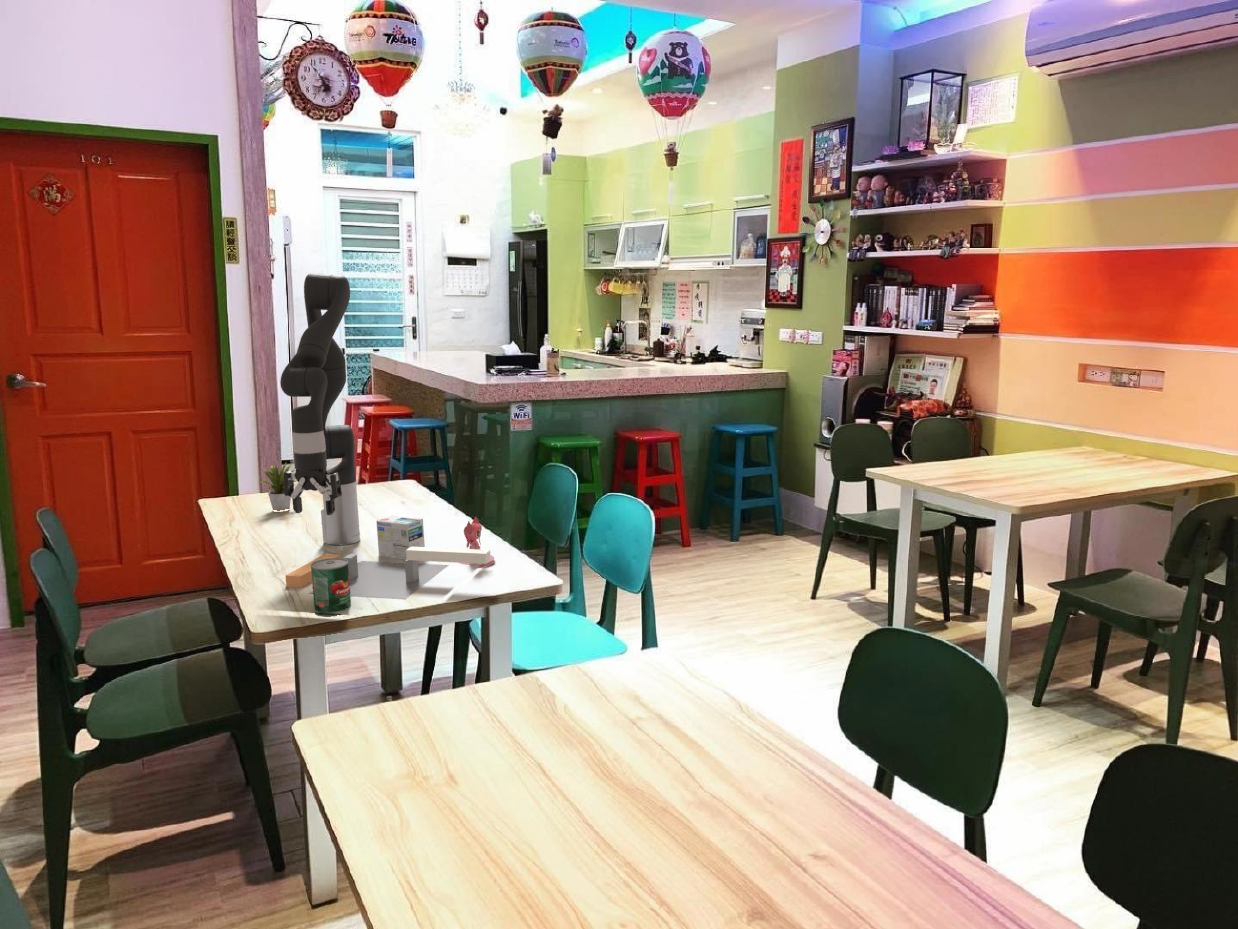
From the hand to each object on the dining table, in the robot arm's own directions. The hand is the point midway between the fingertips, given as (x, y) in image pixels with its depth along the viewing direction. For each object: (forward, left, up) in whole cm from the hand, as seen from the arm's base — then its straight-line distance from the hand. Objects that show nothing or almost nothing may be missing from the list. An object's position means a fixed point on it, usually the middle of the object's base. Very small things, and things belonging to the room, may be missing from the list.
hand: (314, 513), depth 222 cm
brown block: (0, -3, -16) cm, 17 cm away
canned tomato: (+16, -23, -16) cm, 33 cm away
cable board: (+18, -3, -16) cm, 24 cm away
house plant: (-48, +60, -16) cm, 78 cm away
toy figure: (+35, +16, -16) cm, 42 cm away
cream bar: (+36, -3, -9) cm, 37 cm away
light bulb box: (+14, +17, -16) cm, 28 cm away
